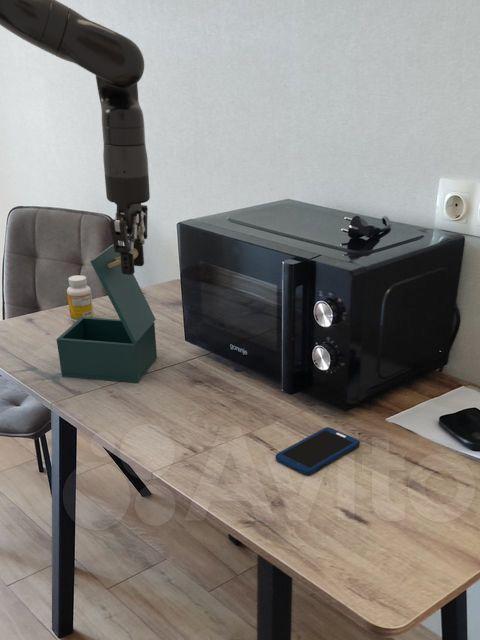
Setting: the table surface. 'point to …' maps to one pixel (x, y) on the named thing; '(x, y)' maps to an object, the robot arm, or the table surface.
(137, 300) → the green box lid
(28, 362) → the table surface
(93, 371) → the dark green rectangular box
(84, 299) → the supplement bottle
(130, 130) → the robot arm
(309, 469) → the cell phone
